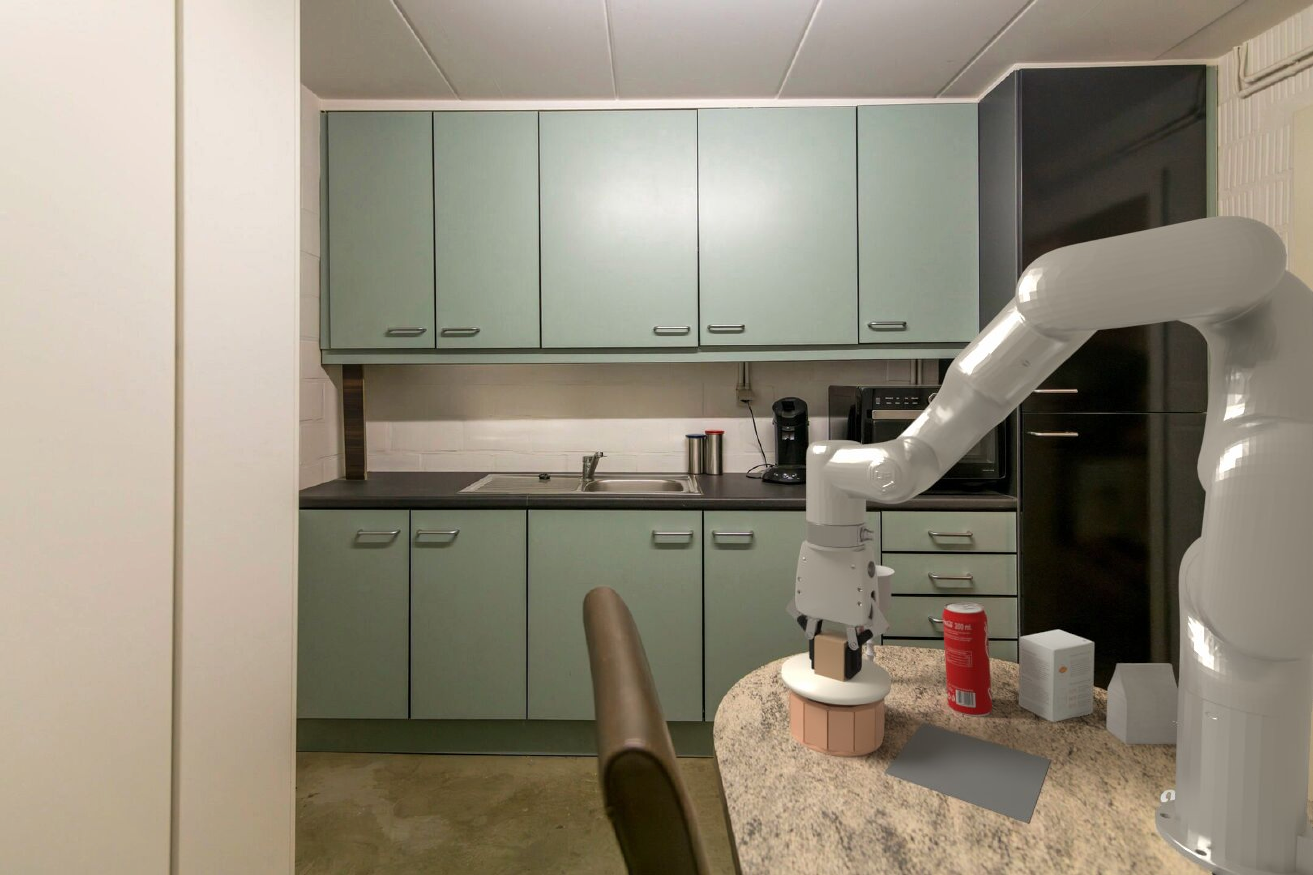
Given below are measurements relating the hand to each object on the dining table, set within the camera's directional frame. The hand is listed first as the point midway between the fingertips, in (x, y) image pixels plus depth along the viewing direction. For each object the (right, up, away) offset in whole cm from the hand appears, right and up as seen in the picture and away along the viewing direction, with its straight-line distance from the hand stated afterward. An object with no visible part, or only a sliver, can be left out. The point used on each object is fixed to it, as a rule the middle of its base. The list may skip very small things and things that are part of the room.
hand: (835, 669), depth 85 cm
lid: (0, -1, 0) cm, 1 cm away
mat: (+14, -9, -8) cm, 18 cm away
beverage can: (+21, -8, +7) cm, 23 cm away
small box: (+33, -8, +6) cm, 35 cm away
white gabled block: (+39, -9, -2) cm, 40 cm away
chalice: (+10, -8, +16) cm, 20 cm away
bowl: (0, -9, 0) cm, 9 cm away
